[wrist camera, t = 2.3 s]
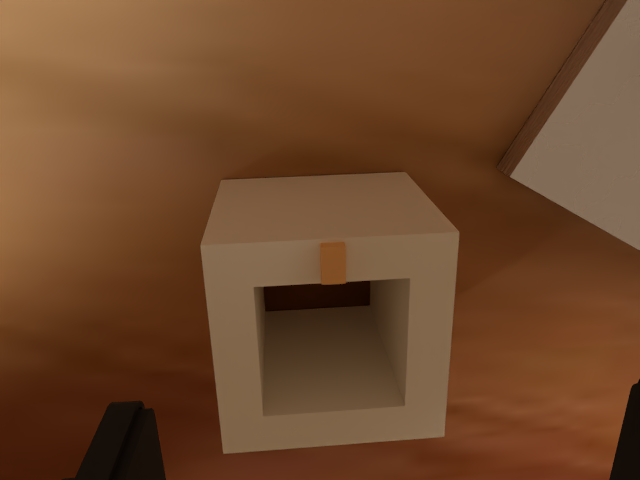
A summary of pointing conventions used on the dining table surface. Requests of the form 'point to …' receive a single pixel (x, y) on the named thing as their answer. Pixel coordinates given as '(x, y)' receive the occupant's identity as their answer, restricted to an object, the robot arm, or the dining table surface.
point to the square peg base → (590, 128)
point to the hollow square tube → (329, 311)
